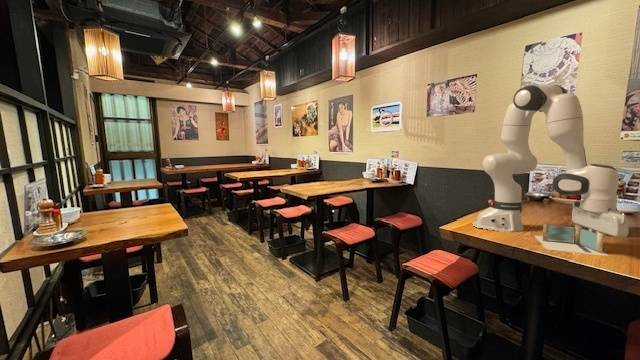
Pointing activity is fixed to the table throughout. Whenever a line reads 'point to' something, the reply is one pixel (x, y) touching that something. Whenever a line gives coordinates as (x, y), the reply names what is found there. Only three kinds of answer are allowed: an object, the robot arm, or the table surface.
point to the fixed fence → (562, 233)
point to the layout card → (568, 247)
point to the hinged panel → (591, 239)
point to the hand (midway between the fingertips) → (596, 240)
